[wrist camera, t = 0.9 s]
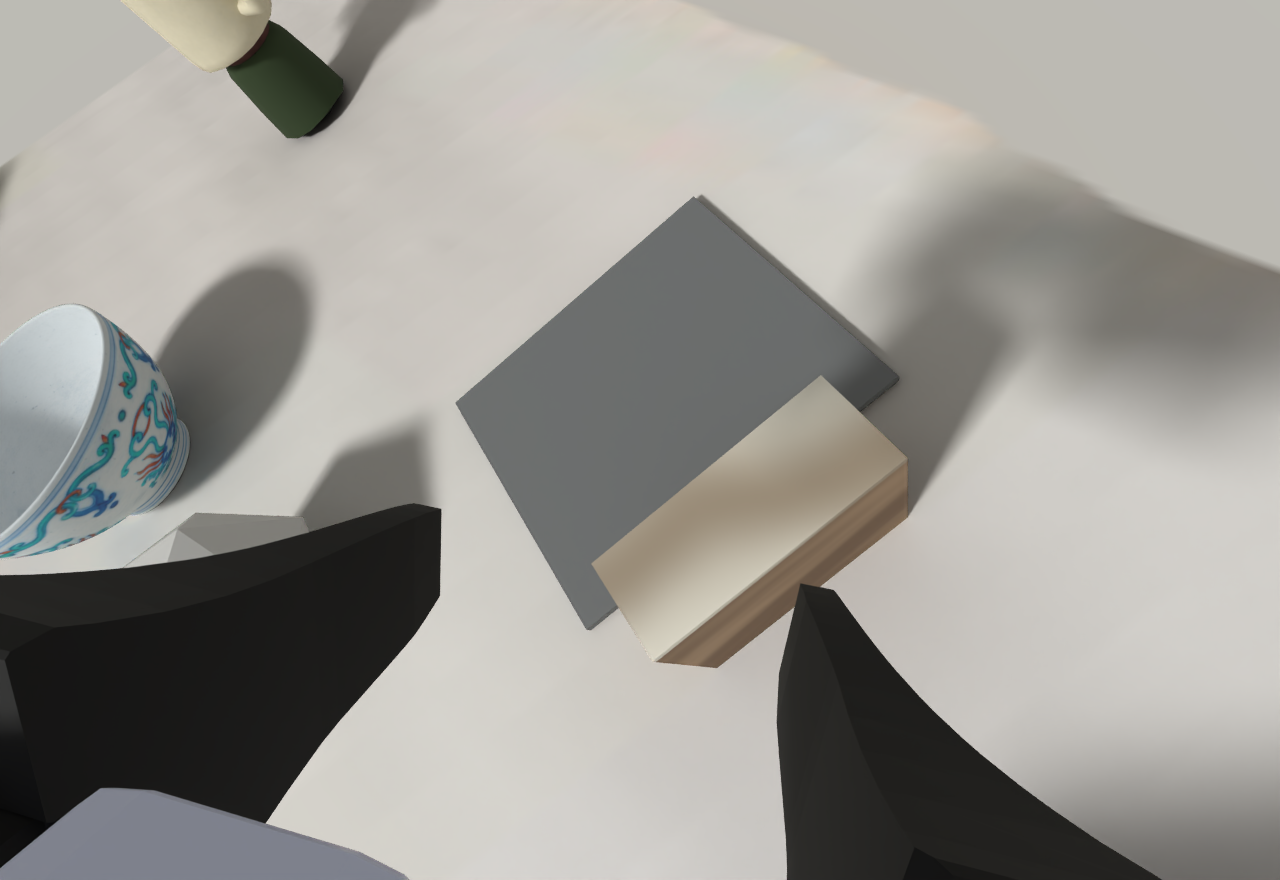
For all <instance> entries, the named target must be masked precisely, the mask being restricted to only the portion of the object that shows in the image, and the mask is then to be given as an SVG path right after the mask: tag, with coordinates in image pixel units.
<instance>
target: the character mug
mask: <svg viewBox="0 0 1280 880" xmlns="http://www.w3.org/2000/svg"><path fill="white" fill-rule="evenodd" d="M120 1H122V2H123V3H124V4H125V5H126V6H127V7H128V8H130V9H131V10H132V11H133V12H134V13H135V14H136V15H138V16H139V17H140V18H141V19H142V20H143V21H144V22H146V23H147V24H148V25H149V26H150V27H151V28H153V29H154V30H155V31H156V32H157V33H158V34H159V35H160V36H162V37H163V38H164V39H165V40H166V41H168V43H170V44H171V45H172V46H173V47H174V48H175V49H177V50H178V51H179V52H180V53H181V54H182V55H183V56H185V57H186V58H187V59H188V60H189V61H190V62H191V63H193V64H194V65H195V66H197V67H198V68H200V69H201V70H203V71H206V72H210V73H212V72H215V71H218V70H221V69H224V68H226V69H227V71H228V73H229V75H230V77H231V78H232V80H233V81H234V82H235V83H236V84H237V85H238V86H239V87H240V88H241V90H242V91H243V92H244V93H245V94H246V95H247V96H248V97H249V98H250V100H251V101H252V102H253V103H254V104H255V105H256V106H257V107H258V109H259V110H260V111H261V112H262V113H263V114H264V115H265V116H266V117H267V118H268V119H269V120H270V121H271V122H272V123H273V124H274V125H275V126H276V127H277V128H278V129H279V130H280V131H281V132H282V133H283V134H284V135H285V137H286V138H300V137H301V136H303V135H305V134H306V133H308V132H310V131H311V130H312V129H313V128H314V127H315V126H316V125H317V124H318V123H319V122H320V121H321V120H322V119H323V118H324V117H325V115H326V114H328V113H330V112H331V107H332V106H333V105H334V103H335V102H336V100H337V99H338V98H339V96H340V95H341V93H342V92H343V80H342V79H341V78H340V77H339V76H338V75H337V74H336V73H335V72H334V71H333V70H332V69H331V68H329V67H328V66H327V65H326V64H325V63H324V62H323V61H322V60H321V59H320V58H319V57H317V56H316V55H315V54H314V53H313V52H312V51H310V50H309V49H308V48H307V47H306V46H304V45H303V44H302V43H301V42H300V41H299V40H297V39H296V38H295V37H294V36H293V35H292V34H290V33H289V32H288V31H287V30H286V29H284V28H283V27H281V26H280V25H278V24H276V23H274V22H272V21H270V20H269V18H270V16H271V6H272V3H271V0H120Z"/></svg>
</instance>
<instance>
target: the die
mask: <svg viewBox="0 0 1280 880" xmlns="http://www.w3.org/2000/svg"><path fill="white" fill-rule="evenodd" d="M308 532H309V530H308V527H307V525H306V523H305V520H304V518H303V517H289V516H263V515H238V514H212V513H195V514H193V515H192V516H191V517H189V518H188V519H187V520H185V521H184V522H183V523H181V524H180V525H179V526H178V527H176V528H175V529H174V530H172V531H171V532H170V533H168V534H167V535H166V536H164V537H163V538H162V539H160V540H159V541H158V542H156V543H155V544H154V545H152V546H151V547H150V548H148V549H147V550H146V551H144V552H143V553H142V554H140V555H139V556H138V557H136V558H135V559H134V560H132V561H131V562H130V563H129V564H127V565H126V566H125V567H123V568H129V567H137V566H144V565H152V564H159V563H167V562H174V561H182V560H189V559H195V558H201V557H206V556H211V555H216V554H222V553H227V552H232V551H237V550H241V549H246V548H251V547H255V546H259V545H263V544H267V543H271V542H274V541H278V540H282V539H286V538H289V537H293V536H297V535H300V534H304V533H308Z"/></svg>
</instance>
